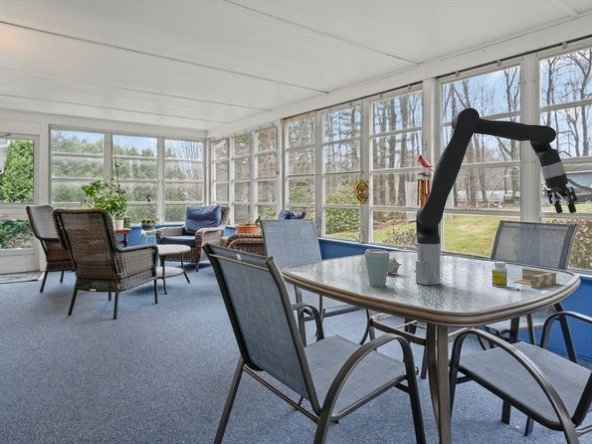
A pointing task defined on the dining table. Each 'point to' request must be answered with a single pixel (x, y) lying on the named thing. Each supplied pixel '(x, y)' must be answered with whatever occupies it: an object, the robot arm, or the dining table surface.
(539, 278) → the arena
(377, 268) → the disposable coffee cup
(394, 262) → the grey angular lump
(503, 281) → the supplement bottle
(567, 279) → the dining table surface
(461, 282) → the dining table surface
